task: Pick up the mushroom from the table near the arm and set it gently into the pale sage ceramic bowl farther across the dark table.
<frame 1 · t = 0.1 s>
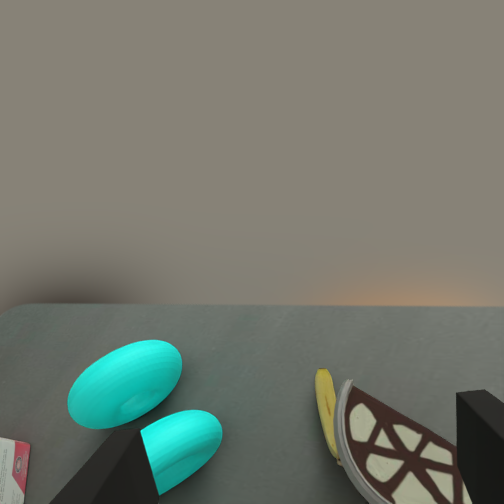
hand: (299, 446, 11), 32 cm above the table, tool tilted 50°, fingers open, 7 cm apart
banana: (330, 419, 41), on the table
ink box: (3, 496, 42), on the table
donuts: (164, 428, 43), on the table
food container: (389, 476, 38), on the table
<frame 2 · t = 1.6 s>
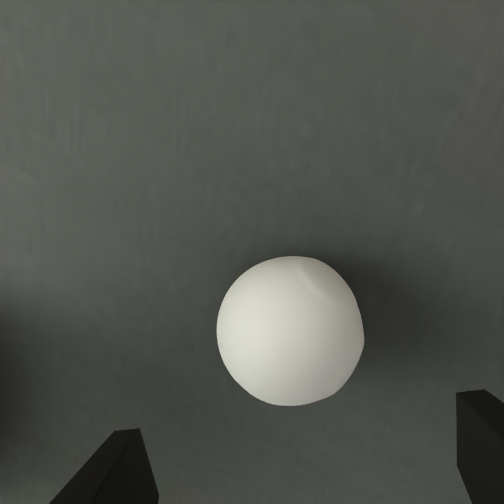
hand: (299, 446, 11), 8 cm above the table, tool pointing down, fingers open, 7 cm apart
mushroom: (285, 294, 18), on the table
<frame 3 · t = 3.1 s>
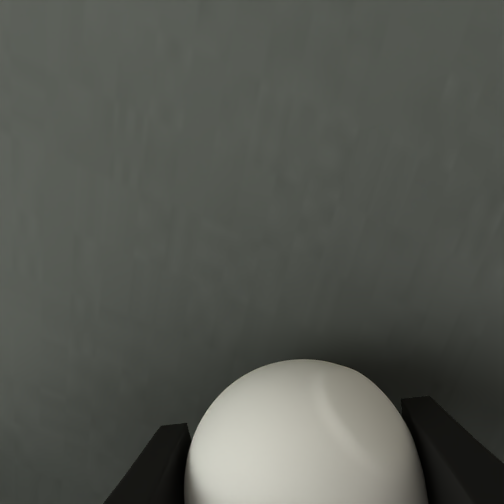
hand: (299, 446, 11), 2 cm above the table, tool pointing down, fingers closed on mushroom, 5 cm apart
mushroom: (293, 396, 12), on the table, touching gripper
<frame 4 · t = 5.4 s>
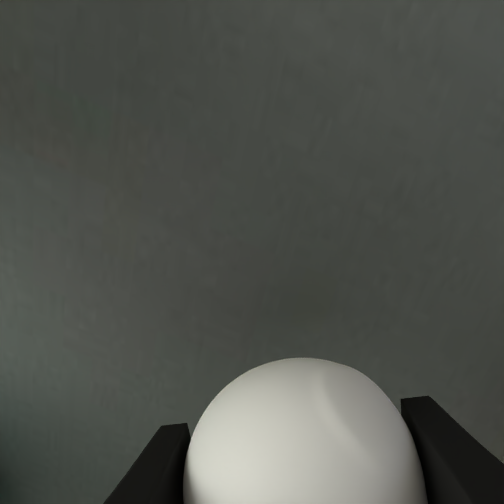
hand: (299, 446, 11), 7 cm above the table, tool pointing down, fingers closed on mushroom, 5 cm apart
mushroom: (292, 395, 12), point 6 cm above the table, touching gripper
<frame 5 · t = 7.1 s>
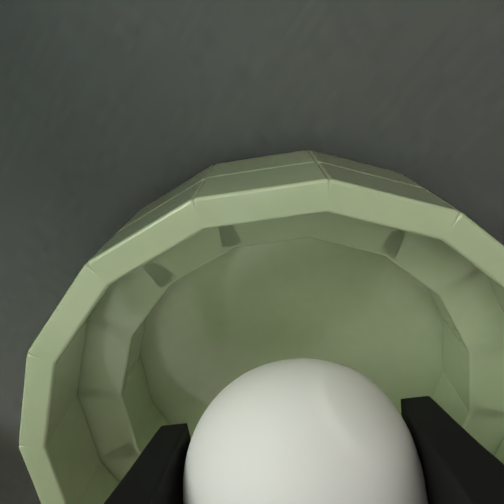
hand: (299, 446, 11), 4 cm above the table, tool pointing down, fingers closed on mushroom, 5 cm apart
bowl: (290, 350, 14), on the table
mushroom: (292, 395, 12), point 2 cm above the table, touching gripper
when the fingers open (2 cm above the table, at t = 8.2 s): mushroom stays where it is, resting on bowl.
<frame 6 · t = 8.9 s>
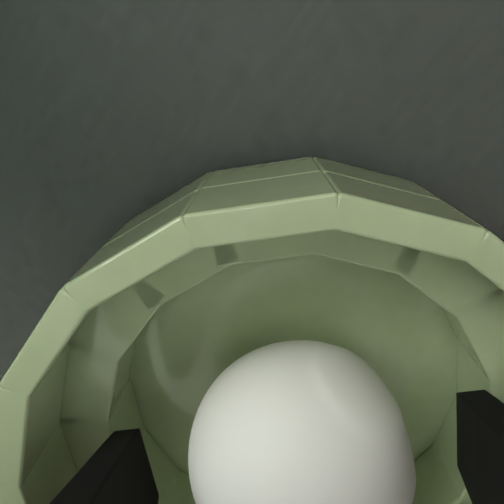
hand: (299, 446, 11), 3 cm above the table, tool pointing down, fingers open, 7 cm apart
bowl: (291, 371, 13), on the table
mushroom: (291, 378, 13), resting on bowl
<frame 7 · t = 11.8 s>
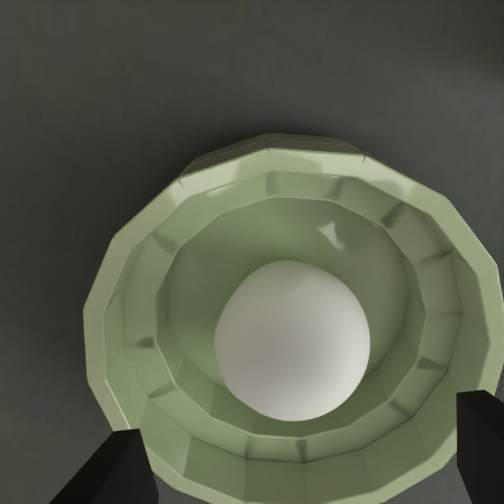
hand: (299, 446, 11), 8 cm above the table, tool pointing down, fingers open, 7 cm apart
bowl: (285, 296, 18), on the table
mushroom: (287, 301, 17), resting on bowl
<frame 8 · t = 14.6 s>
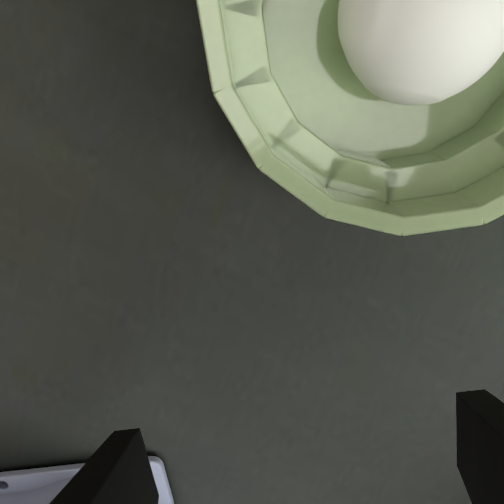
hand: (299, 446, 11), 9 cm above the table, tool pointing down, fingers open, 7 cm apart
bowl: (392, 26, 16), on the table
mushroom: (396, 25, 16), resting on bowl
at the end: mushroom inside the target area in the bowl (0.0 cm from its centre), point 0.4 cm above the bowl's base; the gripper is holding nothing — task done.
